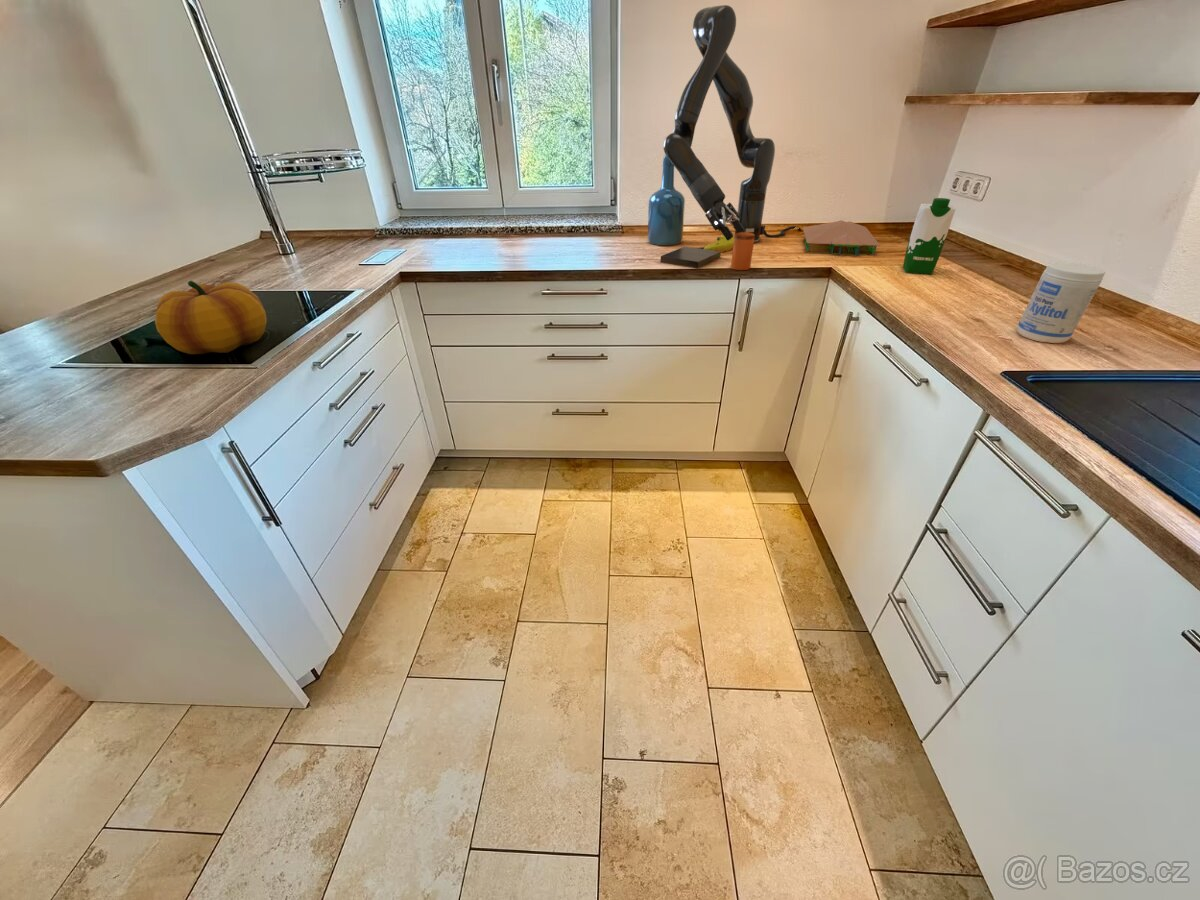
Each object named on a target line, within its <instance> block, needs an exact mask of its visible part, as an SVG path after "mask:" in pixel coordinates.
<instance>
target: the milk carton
mask: <svg viewBox="0 0 1200 900" xmlns="http://www.w3.org/2000/svg"><path fill="white" fill-rule="evenodd" d="M950 202H951V199H950V198H946V197H945V198H943V197H935V198H933V200H932V203H920V206H919V208H918V211H917V214H916V216H915V221H914V223H913V226H912V230H911V234H910V236H909V240H908V243H907V246H906V250H905V254H904V259H903V265H902V268H903V270H904V271H905V273H906V274H918V275H919V274H920V275H921V274H922V275H933V274H934V273H933V272H934V271H935V268H936V266H937V263H938V261H939V259H940V257H941V254H942V250H943V248H944V244H945V242H946V239H947V236H948V233H949V230H950V227H951V224H952V221H953V218H954V215H955V212H956V208H955V207H954V205H951V204H950Z"/></svg>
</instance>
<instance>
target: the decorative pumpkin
mask: <svg viewBox="0 0 1200 900" xmlns="http://www.w3.org/2000/svg"><path fill="white" fill-rule="evenodd" d="M187 285H188V286H189V287H190V289H189V290H172V291H169V292H167V293H164V294H163V295H162V296H161V298H160V299H159V300H158V302H157V305H156V309H155V317H154V324H155V328H156V331H157V333H158V334H159V336H161V337H162V339H163V340H164V341H165V342H166V343H167V345H169V346H171V347H172V348H174V349H175V350H176V351H179V352H182V353H184V354H188V355H206V354H209V353H217V354H228V353H230V352H232V351H235V350H236V349H238V348H239V347H243V346H248V345H251V344H254V343H256V342H257V341H259V340H261V338H262V337H263V335H264V334H265V331H266V326H267V322H268V320H267V314H266V313H267V312H266V309H265V308H264V305H263V303H262V301H261V300H260V298H259V297H258V295H256V294H255V293H254V292H253V291H251V290H250V289H249V288H248V287H247V286H245V285H243V284H240V283H237V282H224V283H221V284H218V285H211V284H205V283H197V282H195V281H193V280H189V281H188V282H187Z"/></svg>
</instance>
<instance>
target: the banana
mask: <svg viewBox="0 0 1200 900" xmlns="http://www.w3.org/2000/svg"><path fill="white" fill-rule="evenodd" d="M734 236H735V235H733V237H732V238H731V239H730V240H727V239H726V238H725V237H724V235H723V234H722V235H720V236H718V237H717V239H716V241H715V242H712V243H709V244H707V245H705V246H700V247H698V248H699V249H706V250H713V251H721V253H725V252H728V251H731V249H733V245H734Z"/></svg>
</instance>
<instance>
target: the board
mask: <svg viewBox="0 0 1200 900" xmlns="http://www.w3.org/2000/svg"><path fill="white" fill-rule="evenodd" d="M699 248H700V247H692V246H682V247H680V248H677V249H675V250H672V251H670V252H667V253H665V254H662V255H660V263H661V264H669V265H675V266H682V267H688V268H694V269H700V268H702V267H703V266H706V265H708V264H710V263H712V262H715V261H716V260H718V259H721V254H722V252H721V251H713V250H706V249H699Z"/></svg>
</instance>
